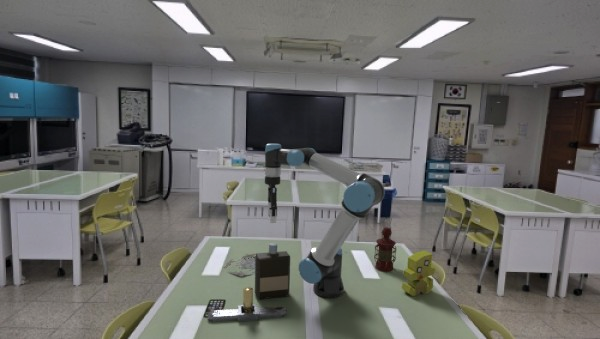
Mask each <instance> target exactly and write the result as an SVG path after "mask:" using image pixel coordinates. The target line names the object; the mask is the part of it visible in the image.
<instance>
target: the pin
mask: <svg viewBox="0 0 600 339" xmlns="http://www.w3.org/2000/svg"><path fill="white" fill-rule="evenodd" d="M242 294H243V295H242V299H243V300H242V305H243V313H252V312H253V304H254V288H253V287H251V286H245V287H244V288H243V293H242Z"/></svg>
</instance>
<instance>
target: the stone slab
mask: <svg viewBox="0 0 600 339" xmlns="http://www.w3.org/2000/svg"><path fill="white" fill-rule="evenodd" d="M246 254H247V255H245V254H244V255H245V256H244V255H242V257H243V258H242V257H241V258H240V259H237V260H234V259H233V258H232V259H230V260H229V261H228V262H227V263H226V265H225V266H224V267H223V268H224V269H225V268H228V267H229V266H230V265H232V264H233V263H236V265H235V266H236V267H237V266H238V269H240V270H248V272H250V273H247V272H242V271H236V272H235V271H234V272H233V271H231V272H230V271H229V272H227V273H228V274H232V275H235V276H237V277H238V276H239V277H245V276H250V275H255V258H253V257H255V255H256V253H246ZM251 257H252V258H253V259H251ZM244 258H245V259H246V258H247V259H246V260H245V259H244ZM248 258H249V259H248ZM243 260H244V261H243ZM230 267H231V266H230ZM251 268H252V269H251ZM251 271H252V273H251ZM253 271H254V272H253Z"/></svg>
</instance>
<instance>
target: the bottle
mask: <svg viewBox="0 0 600 339" xmlns="http://www.w3.org/2000/svg"><path fill="white" fill-rule="evenodd" d="M255 254H256V256H255V269H254V271H255V274H254V295H255V297H256V298H257V300H264V299H265V300H266V299H274V298H282V297H289V295H290V289H291V288H290V285H291V284H290V282H291V280H290V279H291V278H290V277H291V256H290V254H289V253H288V251H287V250H285V251H283V250H282V251H278V243H276V242H270V243H268V252H256V253H255Z"/></svg>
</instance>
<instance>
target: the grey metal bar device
mask: <svg viewBox="0 0 600 339" xmlns="http://www.w3.org/2000/svg"><path fill="white" fill-rule="evenodd" d="M286 316H287V308H286V307H284V306H268V307H258V305H257V303H253V312H252V313H243V304H238V305H237V308H236V309H235V308H233V309H223V310H213V311H210V312H209V313H208V318H207V320H208V321H210V322H220V321H221V322H222V321H223V322H224V321H238V322H239V323H240V322H253V321H255V322H256V321H258V320H259V319H271V318H272V319H273V318H283V317H286Z"/></svg>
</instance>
